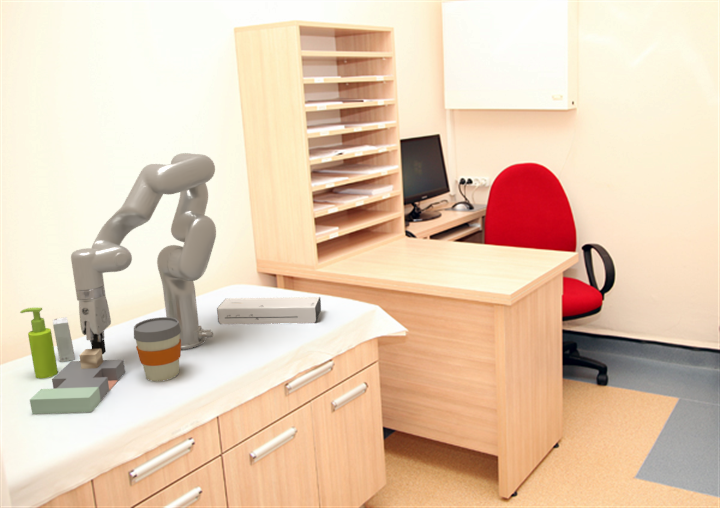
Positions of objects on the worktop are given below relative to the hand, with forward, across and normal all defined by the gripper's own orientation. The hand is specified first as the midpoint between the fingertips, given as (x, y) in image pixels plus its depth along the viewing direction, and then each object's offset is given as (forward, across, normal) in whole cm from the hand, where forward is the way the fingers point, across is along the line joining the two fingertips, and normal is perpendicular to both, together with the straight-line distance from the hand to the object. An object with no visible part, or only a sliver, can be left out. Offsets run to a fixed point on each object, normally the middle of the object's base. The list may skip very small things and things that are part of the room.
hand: (99, 353), depth 189 cm
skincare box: (+5, +10, +15) cm, 19 cm away
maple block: (+1, -6, 0) cm, 6 cm away
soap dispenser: (+6, -2, +16) cm, 17 cm away
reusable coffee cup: (+5, -4, -19) cm, 20 cm away
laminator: (+6, +41, -43) cm, 60 cm away
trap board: (+5, -14, 0) cm, 15 cm away
